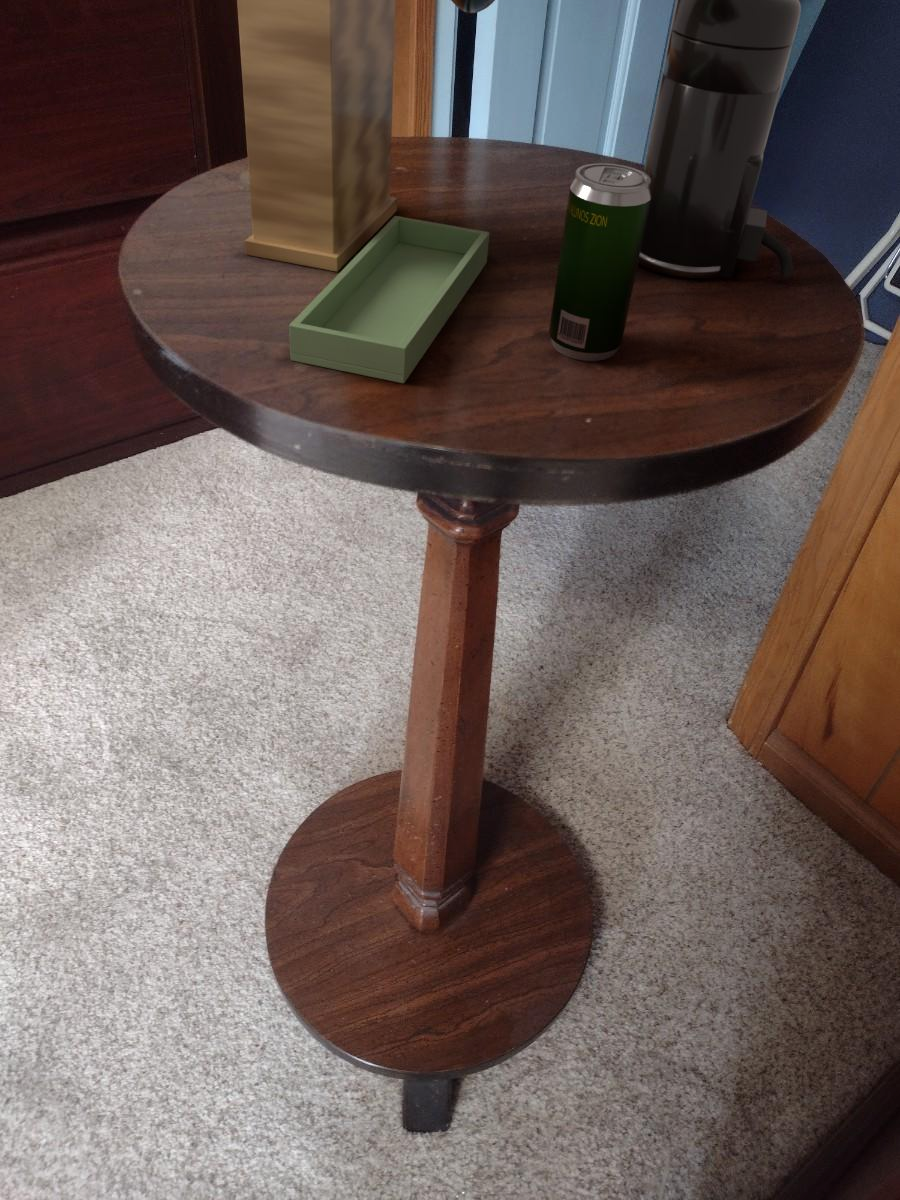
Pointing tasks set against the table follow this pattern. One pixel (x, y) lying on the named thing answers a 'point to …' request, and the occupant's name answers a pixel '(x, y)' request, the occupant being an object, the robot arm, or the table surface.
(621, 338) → the beer can
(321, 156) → the stand
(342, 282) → the green rectangular tray
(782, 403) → the table surface
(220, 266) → the table surface
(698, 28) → the robot arm
